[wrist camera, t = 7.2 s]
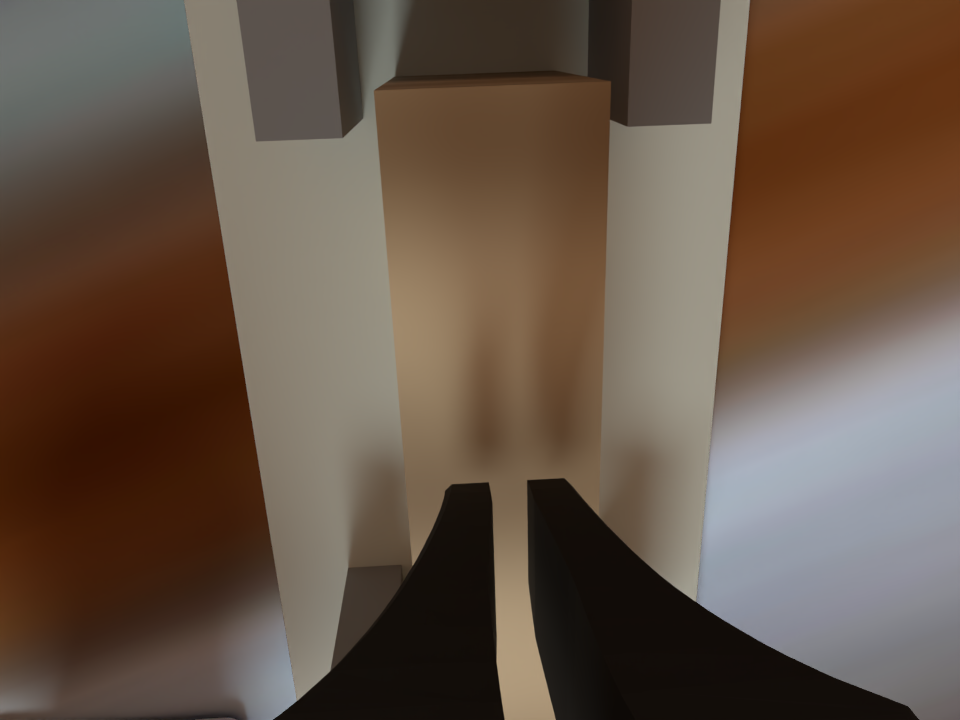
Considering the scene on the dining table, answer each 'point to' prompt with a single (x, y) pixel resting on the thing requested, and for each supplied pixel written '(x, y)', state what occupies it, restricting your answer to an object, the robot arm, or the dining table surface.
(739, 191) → the dining table surface
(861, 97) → the dining table surface
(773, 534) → the dining table surface
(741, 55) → the cradle
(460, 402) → the wooden block
